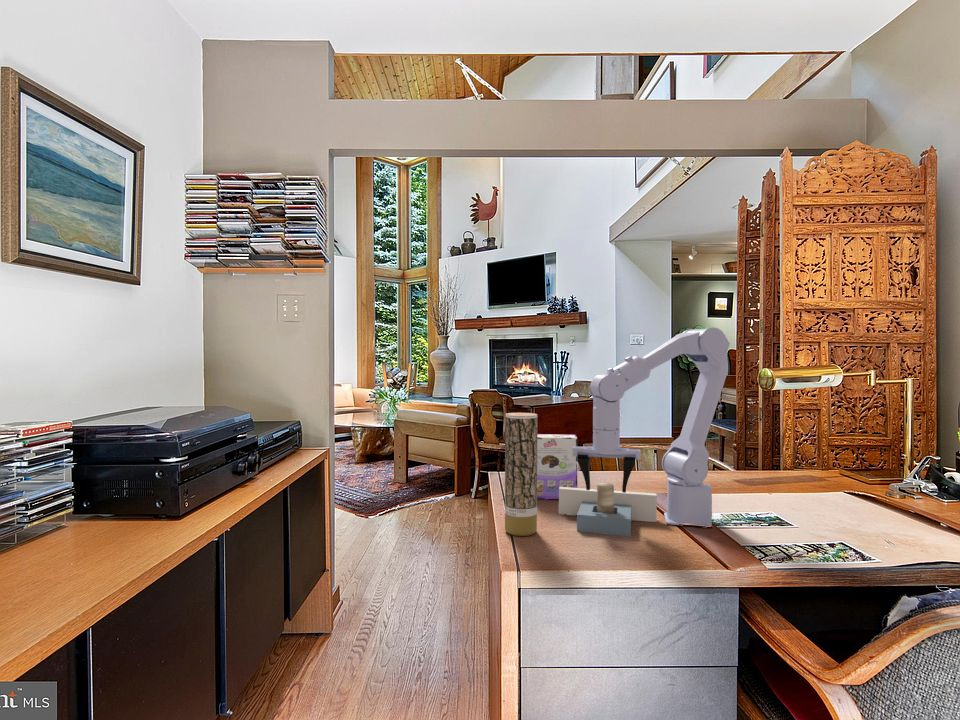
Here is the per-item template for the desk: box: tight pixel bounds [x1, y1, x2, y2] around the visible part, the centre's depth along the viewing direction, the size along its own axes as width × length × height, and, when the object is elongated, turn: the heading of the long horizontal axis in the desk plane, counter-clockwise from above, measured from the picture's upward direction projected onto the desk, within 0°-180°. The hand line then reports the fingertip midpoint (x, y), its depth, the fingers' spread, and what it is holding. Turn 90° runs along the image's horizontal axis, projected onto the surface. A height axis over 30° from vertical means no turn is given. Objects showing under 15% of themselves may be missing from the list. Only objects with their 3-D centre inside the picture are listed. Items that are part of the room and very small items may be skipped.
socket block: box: [576, 501, 632, 537], centre depth 120 cm, size 11×11×4 cm
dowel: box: [596, 482, 615, 514], centre depth 120 cm, size 4×4×8 cm
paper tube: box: [504, 412, 539, 537], centre depth 115 cm, size 7×7×25 cm
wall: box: [558, 487, 658, 523], centre depth 126 cm, size 22×2×6 cm, turn 75°
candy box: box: [537, 433, 578, 500], centre depth 143 cm, size 14×6×16 cm, turn 84°
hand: (606, 490), depth 120 cm, fingers open, 7 cm apart
